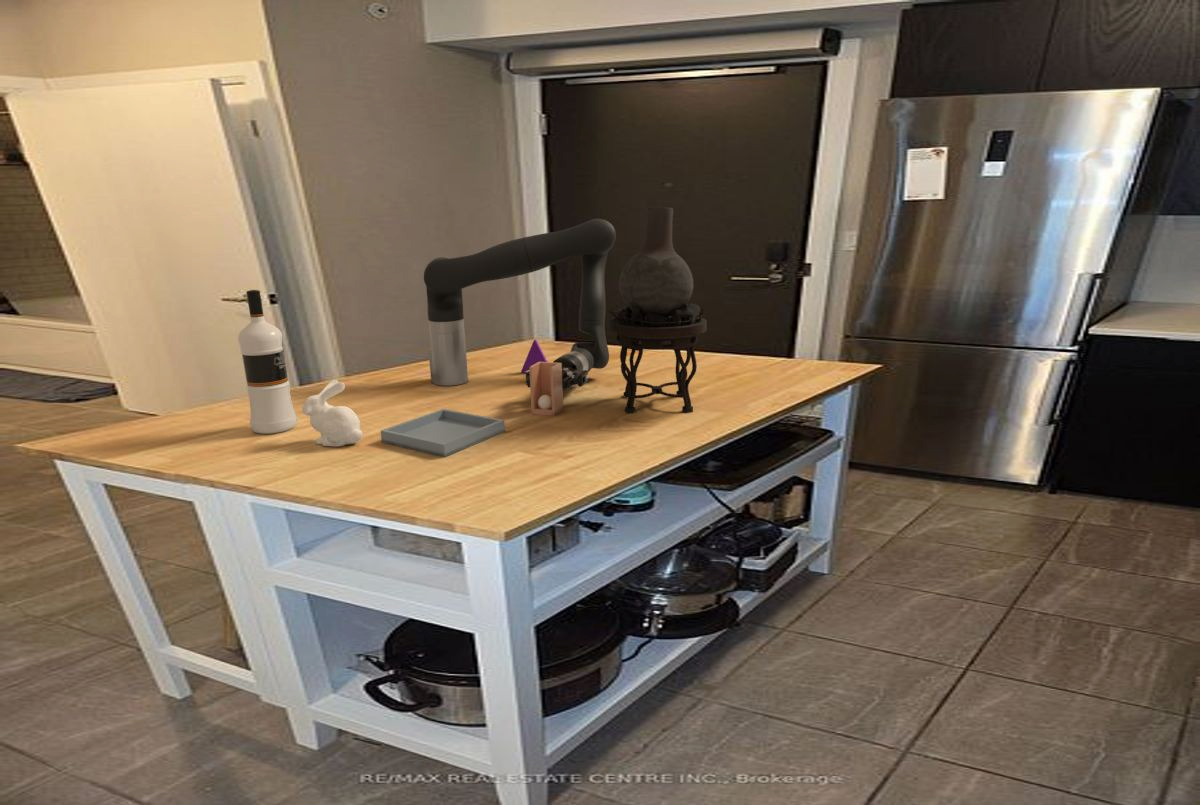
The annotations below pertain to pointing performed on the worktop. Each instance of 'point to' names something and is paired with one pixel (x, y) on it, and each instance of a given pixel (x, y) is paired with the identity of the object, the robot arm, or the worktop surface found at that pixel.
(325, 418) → the rabbit
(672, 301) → the brazier
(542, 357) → the arrowhead
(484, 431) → the tray
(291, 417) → the vodka
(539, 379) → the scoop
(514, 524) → the worktop surface
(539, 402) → the ball
